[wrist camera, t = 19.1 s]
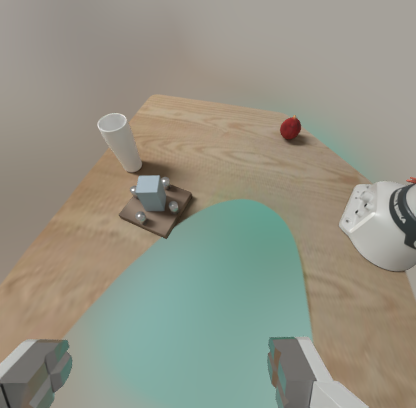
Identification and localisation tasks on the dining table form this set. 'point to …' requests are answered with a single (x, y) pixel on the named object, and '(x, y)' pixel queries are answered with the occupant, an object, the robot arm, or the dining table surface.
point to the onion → (290, 128)
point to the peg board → (157, 220)
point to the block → (151, 193)
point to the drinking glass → (120, 140)
